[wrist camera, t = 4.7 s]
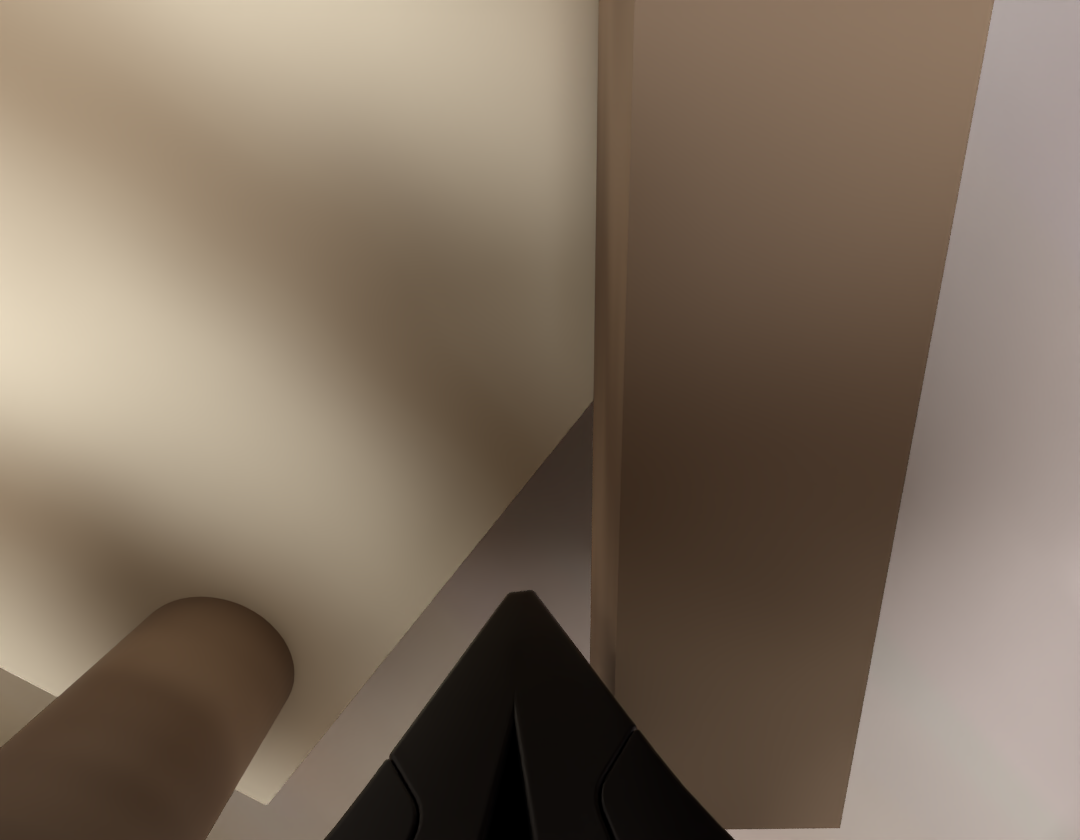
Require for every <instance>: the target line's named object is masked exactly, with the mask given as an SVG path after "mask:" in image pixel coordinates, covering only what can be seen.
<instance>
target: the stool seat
mask: <svg viewBox="0 0 1080 840" xmlns="http://www.w3.org/2000/svg"><path fill="white" fill-rule="evenodd" d="M598 17H599V0H0V668H2V669H4V670H6V671H8V672H10V673H12V674H13V675H15V676H17V677H19V678H21V679H23V680H25V681H27V682H29V683H31V684H33V685H35V686H37V687H38V688H40V689H42V690H44V691H46V692H48V693H50V694H52V695H54V696H56V697H57V698H56V699H55V700H54V701H53V702H52V703H51V704H49V705H48V706H47V707H46V708H45V709H44V710H43V711H42V712H40V713H39V714H38V715H37V716H36V717H35V718H34V719H33V720H31V721H30V722H29V723H28V724H27V725H26V726H25V727H24V728H22V729H21V730H20V731H19V732H18V733H17V734H16V735H15V736H13V737H12V738H11V739H10V740H9V741H8V742H7V743H6V744H4V745H3V746H2V747H1V748H0V840H205V839H206V838H207V836H208V834H209V833H210V831H211V829H212V827H213V826H214V824H215V822H216V821H217V819H218V817H219V815H220V814H221V812H222V810H223V809H224V807H225V805H226V803H227V802H228V800H229V798H230V797H231V795H232V793H233V791H234V790H237V791H239V792H241V793H243V794H245V795H246V796H248V797H250V798H252V799H254V800H256V801H258V802H260V803H262V804H264V805H266V806H267V805H268V804H269V802H270V801H271V800H272V799H273V797H274V796H275V795H276V794H277V792H278V791H279V790H280V789H281V788H282V786H283V785H284V784H285V783H286V781H287V780H288V779H289V778H290V776H291V775H292V774H293V773H294V771H295V770H296V769H297V768H298V766H299V765H300V764H301V763H302V761H303V760H304V759H305V758H306V756H307V755H308V754H309V753H310V751H311V750H312V749H313V748H314V747H315V745H316V744H317V743H318V742H319V740H320V739H321V738H322V737H323V735H324V734H325V733H326V732H327V730H328V729H329V728H330V727H331V725H332V724H333V723H334V722H335V720H336V719H337V718H338V717H339V715H340V714H341V713H342V712H343V710H344V709H345V708H346V707H347V706H348V704H349V703H350V702H351V701H352V699H353V698H354V697H355V696H356V694H357V693H358V692H359V691H360V689H361V688H362V687H363V686H364V684H365V683H366V682H367V681H368V679H369V678H370V677H371V676H372V674H373V673H374V672H375V671H376V669H377V668H378V667H379V666H380V665H381V663H382V662H383V661H384V660H385V658H386V657H387V656H388V655H389V653H390V652H391V651H392V650H393V648H394V647H395V646H396V645H397V643H398V642H399V641H400V640H401V638H402V637H403V636H404V635H405V633H406V632H407V631H408V630H409V629H410V627H411V626H412V625H413V624H414V622H415V621H416V620H417V619H418V617H419V616H420V615H421V614H422V612H423V611H424V610H425V609H426V607H427V606H428V605H429V604H430V602H431V601H432V600H433V599H434V597H435V596H436V595H437V594H438V592H439V591H440V590H441V589H442V588H443V586H444V585H445V584H446V583H447V581H448V580H449V579H450V578H451V576H452V575H453V574H454V573H455V571H456V570H457V569H458V568H459V566H460V565H461V564H462V563H463V561H464V560H465V559H466V558H467V556H468V555H469V554H470V553H471V551H472V550H473V549H474V548H475V547H476V545H477V544H478V543H479V542H480V540H481V539H482V538H483V537H484V535H485V534H486V533H487V532H488V530H489V529H490V528H491V527H492V525H493V524H494V523H495V522H496V520H497V519H498V518H499V517H500V515H501V514H502V513H503V512H504V510H505V509H506V508H507V507H508V506H509V504H510V503H511V502H512V501H513V499H514V498H515V497H516V496H517V494H518V493H519V492H520V491H521V489H522V488H523V487H524V486H525V484H526V483H527V482H528V481H529V479H530V478H531V477H532V476H533V474H534V473H535V472H536V471H537V469H538V468H539V467H540V466H541V465H542V463H543V462H544V461H545V460H546V458H547V457H548V456H549V455H550V453H551V452H552V451H553V450H554V448H555V447H556V446H557V445H558V443H559V442H560V441H561V440H562V438H563V437H564V436H565V435H566V433H567V432H568V431H569V430H570V429H571V427H572V426H573V425H574V424H575V422H576V421H577V420H578V419H579V417H580V416H581V415H582V414H583V412H584V411H585V410H586V409H587V407H588V406H589V405H590V404H591V402H592V401H593V398H594V322H595V246H596V169H597V93H598Z"/></svg>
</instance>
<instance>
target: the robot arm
mask: <svg viewBox="0 0 1080 840" xmlns="http://www.w3.org/2000/svg"><path fill="white" fill-rule="evenodd" d="M389 759H390V760H389ZM389 759H387V760H385V761H384V763H383V764H382V765H381V767H380V768H379V769H378V771H377V772H376V774H375V775H374V776H373V778H372V779H371V780H370V782H369V783H368V784H367V786H366V787H365V788H364V790H363V791H362V792H361V794H360V795H359V796H358V797H357V799H356V800H355V801H354V803H353V804H352V805H351V806H350V808H349V809H348V810H347V812H346V813H345V814H344V815H343V817H342V818H341V819H340V821H339V822H338V823H337V825H336V826H335V827H334V828H333V829H332V831H331V832H330V833H329V834H328V835H327V837H326V838H325V839H324V840H734V839H733V838H732V836H731V835H730V834H729V833H728V832H727V831H726V830H725V829H724V828H723V827H722V826H721V825H720V824H719V823H718V822H717V821H716V820H715V819H714V818H713V817H712V815H711V814H710V813H709V812H708V811H707V810H706V809H705V808H704V807H703V806H702V805H701V804H700V803H699V801H698V800H697V799H696V798H695V797H694V796H693V795H692V794H691V793H690V792H689V791H688V790H687V789H686V787H685V786H684V785H683V784H682V783H681V781H680V780H679V779H678V778H677V777H676V775H675V774H674V773H673V772H672V770H671V769H670V768H669V767H668V766H667V764H666V763H665V762H664V761H663V759H662V758H661V757H660V756H659V754H658V753H657V752H656V751H655V749H654V748H653V747H652V745H651V744H650V743H649V741H648V740H647V739H646V737H645V736H644V735H643V734H642V732H641V731H640V730H637V726H636V725H635V723H634V722H633V721H632V720H631V718H630V717H629V716H628V714H627V713H626V712H625V710H624V709H623V708H622V706H621V705H620V704H619V702H618V701H617V700H616V698H615V697H614V696H613V694H612V693H611V692H610V691H609V689H608V688H607V687H606V685H605V684H604V683H603V681H602V680H601V679H600V677H599V676H598V675H597V673H596V672H595V671H594V669H593V668H592V667H591V665H590V664H589V663H588V662H587V660H586V659H585V658H584V656H583V655H582V654H581V652H580V651H579V650H578V648H577V647H576V646H575V644H574V643H573V642H572V640H571V639H570V638H569V636H568V635H567V634H566V632H565V631H564V630H563V629H562V627H561V626H560V625H559V623H558V622H557V621H556V619H555V618H554V617H553V615H552V614H551V613H550V611H549V610H548V609H547V607H546V606H545V605H544V603H543V602H542V601H541V600H540V598H539V597H538V596H537V594H536V593H535V592H534V591H532V590H527V591H519V592H511V593H509V594H507V596H506V597H505V598H504V600H503V601H502V602H501V604H500V605H499V606H498V608H497V609H496V610H495V612H494V613H493V615H492V616H491V617H490V619H489V620H488V621H487V623H486V624H485V625H484V627H483V628H482V630H481V631H480V632H479V634H478V635H477V636H476V638H475V639H474V640H473V642H472V643H471V645H470V646H469V647H468V649H467V650H466V651H465V653H464V654H463V655H462V657H461V658H460V660H459V661H458V662H457V664H456V665H455V666H454V668H453V669H452V670H451V672H450V673H449V675H448V676H447V677H446V679H445V680H444V681H443V683H442V684H441V685H440V687H439V688H438V689H437V691H436V692H435V694H434V695H433V696H432V698H431V699H430V700H429V702H428V703H427V704H426V706H425V707H424V709H423V710H422V711H421V713H420V714H419V715H418V717H417V718H416V719H415V721H414V722H413V724H412V725H411V726H410V728H409V729H408V730H407V732H406V733H405V734H404V736H403V737H402V739H401V740H400V741H399V743H398V744H397V745H396V747H395V748H394V749H393V751H392V752H391V754H390V756H389Z"/></svg>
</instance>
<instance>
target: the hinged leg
mask: <svg viewBox="0 0 1080 840" xmlns="http://www.w3.org/2000/svg"><path fill="white" fill-rule="evenodd" d="M993 4H994V0H599V17H598V93H597V169H596V246H595V322H594V398H593V475H592V551H591V628H590V665H591V667H592V668H593V669H594V671H595V672H596V673H597V675H598V676H599V677H600V679H601V680H602V681H603V683H604V684H605V685H606V687H607V688H608V689H609V691H610V692H611V693H612V694H613V696H614V697H615V698H616V700H617V701H618V702H619V704H620V705H621V706H622V708H623V709H624V710H625V712H626V713H627V714H628V716H629V717H630V718H631V720H632V721H633V722H634V723H635V725H636V726H637V730H640V731H641V732H642V734H643V735H644V736H645V737H646V739H647V740H648V741H649V743H650V744H651V745H652V747H653V748H654V749H655V751H656V752H657V753H658V754H659V756H660V757H661V758H662V759H663V761H664V762H665V763H666V764H667V766H668V767H669V768H670V769H671V770H672V772H673V773H674V774H675V775H676V777H677V778H678V779H679V780H680V781H681V783H682V784H683V785H684V786H685V787H686V789H687V790H688V791H689V792H690V793H691V794H692V795H693V796H694V797H695V798H696V799H697V800H698V801H699V803H700V804H701V805H702V806H703V807H704V808H705V809H706V810H707V811H708V812H709V813H710V814H711V815H712V817H713V818H714V819H715V820H716V821H717V822H718V823H719V824H720V825H721V826H722V827H723V828H724V829H793V828H840V824H841V819H842V814H843V808H844V803H845V798H846V792H847V787H848V781H849V776H850V771H851V765H852V760H853V755H854V749H855V744H856V739H857V733H858V728H859V722H860V717H861V712H862V706H863V701H864V696H865V690H866V685H867V680H868V674H869V669H870V663H871V658H872V653H873V647H874V642H875V637H876V631H877V626H878V621H879V615H880V610H881V604H882V599H883V594H884V588H885V583H886V578H887V572H888V567H889V562H890V556H891V551H892V545H893V540H894V535H895V529H896V524H897V519H898V513H899V508H900V503H901V497H902V492H903V486H904V481H905V476H906V470H907V465H908V460H909V454H910V449H911V444H912V438H913V433H914V427H915V422H916V417H917V411H918V406H919V401H920V395H921V390H922V385H923V379H924V374H925V368H926V363H927V358H928V352H929V347H930V342H931V336H932V331H933V326H934V320H935V315H936V309H937V304H938V299H939V293H940V288H941V283H942V277H943V272H944V267H945V261H946V256H947V250H948V245H949V240H950V234H951V229H952V224H953V218H954V213H955V208H956V202H957V197H958V191H959V186H960V181H961V175H962V170H963V165H964V159H965V154H966V149H967V143H968V138H969V132H970V127H971V122H972V116H973V111H974V106H975V100H976V95H977V90H978V84H979V79H980V73H981V68H982V63H983V57H984V52H985V47H986V41H987V36H988V31H989V25H990V20H991V14H992V9H993Z"/></svg>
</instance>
